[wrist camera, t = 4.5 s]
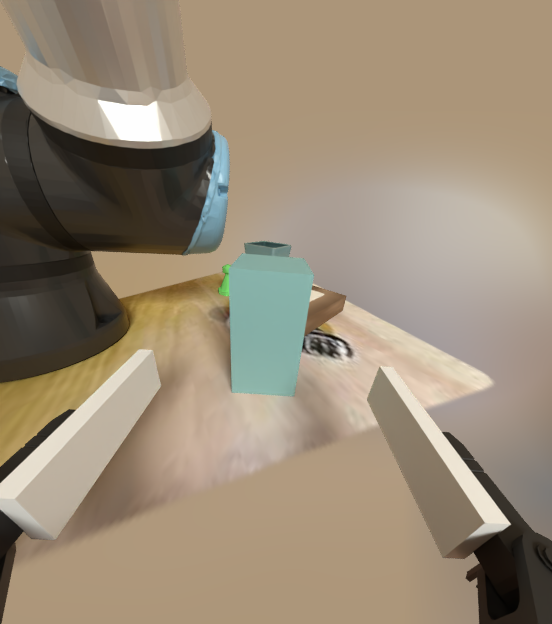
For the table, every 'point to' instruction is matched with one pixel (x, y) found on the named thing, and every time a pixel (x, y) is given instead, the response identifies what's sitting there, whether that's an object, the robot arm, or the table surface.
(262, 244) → the flower pot
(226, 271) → the game piece
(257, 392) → the teal pillar block
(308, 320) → the walnut base
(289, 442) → the table surface
